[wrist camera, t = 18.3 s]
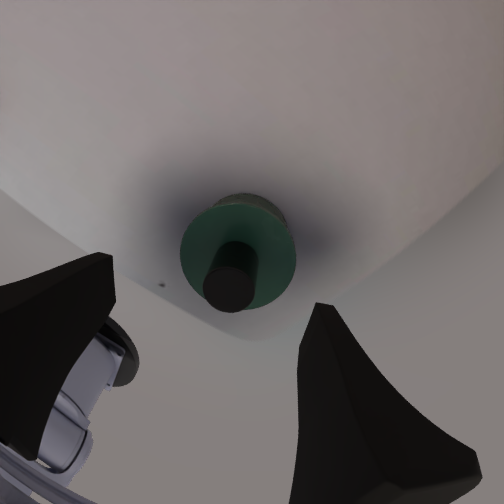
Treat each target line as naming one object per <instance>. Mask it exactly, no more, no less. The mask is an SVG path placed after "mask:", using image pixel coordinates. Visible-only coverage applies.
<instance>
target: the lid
mask: <svg viewBox="0 0 504 504" xmlns="http://www.w3.org/2000/svg"><path fill="white" fill-rule="evenodd" d="M180 260H181V266H182V269H183V272H184V274H185V277H186V279H187V280H188V282H189V283H190V285H191V286H192V287H193V289H194V290H195V291H196V292H197V293H198V294H199V295H201V296H202V297H203V298H204V299H206V300H207V302H208V303H209V304H210V305H211V306H212V307H214V308H215V309H217V310H219V311H222V312H228V313H234V312H239V311H242V310H248V309H254V308H259V307H261V306H264V305H266V304H268V303H270V302H272V301H273V300H275V299H276V298H278V297H279V296H280V295H281V294H282V293H283V292H284V291H285V289H286V288H287V287H288V285H289V284H290V282H291V280H292V278H293V275H294V272H295V267H296V252H295V246H294V242H293V239H292V237H291V234H290V232H289V231H288V229H287V228H286V226H285V225H284V224H283V222H282V221H281V220H280V219H279V218H278V217H277V216H275V215H274V214H273V213H271V212H270V211H268V210H267V209H265V208H263V207H261V206H258V205H255V204H252V203H248V202H239V201H233V202H225V203H220V204H217V205H214V206H212V207H210V208H208V209H206V210H205V211H203V212H202V213H200V214H199V215H198V216H197V217H196V218H195V219H194V220H193V221H192V223H191V224H190V225H189V226H188V228H187V230H186V231H185V233H184V236H183V238H182V242H181V247H180Z"/></svg>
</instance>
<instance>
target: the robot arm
mask: <svg viewBox="0 0 504 504" xmlns="http://www.w3.org/2000/svg"><path fill="white" fill-rule="evenodd" d="M115 303H116V296H115V285H114V271H113V256H112V255H108V254H105V253H101V252H97V253H93V254H90V255H87V256H84V257H81V258H79V259H76V260H73V261H71V262H68V263H66V264H63V265H61V266H58V267H55V268H53V269H50V270H48V271H45V272H42V273H39V274H37V275H34V276H32V277H29V278H26V279H23V280H20V281H17V282H13V283H10V284H6V285H3V286H0V504H40V503H38V502H36V501H35V500H34V499H32V498H31V497H30V495H31V493H32V491H34V492H35V493H37V494H38V495H40V496H42V497H43V498H45V499H46V500H48V501H50V502H51V503H53V504H97V503H95V502H92V501H90V500H88V499H86V498H84V497H82V496H80V495H78V494H76V493H74V492H73V491H71V490H69V489H67V488H65V487H67V486H68V485H69V483H70V482H71V480H72V478H73V477H74V475H75V474H76V473H78V471H79V470H80V469H81V468H82V466H83V465H84V463H85V462H86V460H87V458H88V456H89V454H90V452H91V449H92V445H93V439H92V433H91V432H90V431H89V430H88V429H87V428H88V426H89V424H90V421H89V420H88V419H87V418H88V416H89V414H90V412H91V411H92V409H93V407H94V405H95V403H96V401H97V400H98V398H99V396H100V394H101V393H102V391H103V389H106V390H108V391H110V390H111V388H112V386H113V383H114V380H115V378H116V375H117V372H118V370H119V367H120V364H121V362H122V359H123V357H124V354H125V349H124V348H123V347H121V346H119V345H118V344H116V343H114V342H113V341H111V340H109V339H108V338H106V337H105V336H103V335H101V334H100V333H98V331H99V330H100V328H101V327H102V326H103V324H104V323H105V321H106V319H107V317H108V316H109V314H110V312H111V310H112V308H113V306H114V304H115ZM297 385H298V386H297V387H298V421H299V430H298V432H299V434H298V445H297V454H296V462H295V470H294V477H293V483H292V489H291V495H290V500H289V504H449V503H451V502H453V501H454V500H456V499H458V498H459V497H461V496H463V495H465V494H466V493H468V492H469V491H470V490H472V489H474V488H475V487H476V486H477V485H478V484H479V482H480V481H481V479H482V474H481V470H480V466H479V462H478V458H477V455H476V452H475V451H474V450H473V449H471V448H469V447H468V446H466V445H464V444H463V443H461V442H460V441H458V440H456V439H455V438H453V437H451V436H450V435H448V434H447V433H445V432H444V431H443V430H441V429H440V428H439V427H437V426H436V425H434V424H433V423H432V422H431V421H430V420H428V419H427V418H426V417H424V416H423V415H422V414H421V413H420V412H419V411H418V410H417V409H415V408H414V407H413V406H412V405H411V404H410V403H409V402H408V401H407V400H406V399H405V398H404V397H403V396H402V395H401V394H400V393H399V392H398V391H397V390H396V389H395V388H394V387H393V386H392V385H391V384H390V383H389V382H388V380H387V379H386V378H385V377H384V376H383V375H382V374H381V372H380V371H379V370H378V369H377V367H376V366H375V365H374V363H373V362H372V361H371V360H370V358H369V357H368V356H367V354H366V353H365V352H364V350H363V349H362V348H361V346H360V345H359V343H358V342H357V340H356V339H355V337H354V336H353V334H352V333H351V332H350V330H349V328H348V327H347V325H346V324H345V322H344V321H343V319H342V318H341V316H340V315H339V313H338V311H337V310H336V309H335V307H334V306H333V305H328V304H323V303H317V302H316V303H315V306H314V309H313V312H312V314H311V317H310V320H309V323H308V325H307V328H306V330H305V333H304V336H303V339H302V341H301V343H300V346H299V355H298V367H297ZM37 458H39V459H40V460H41V461H43V462H44V463H46V464H47V465H49V466H50V467H51V468H47V467H44V466H43V465H41V464H39V463H38V462H36V461H35V460H36V459H37Z"/></svg>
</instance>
